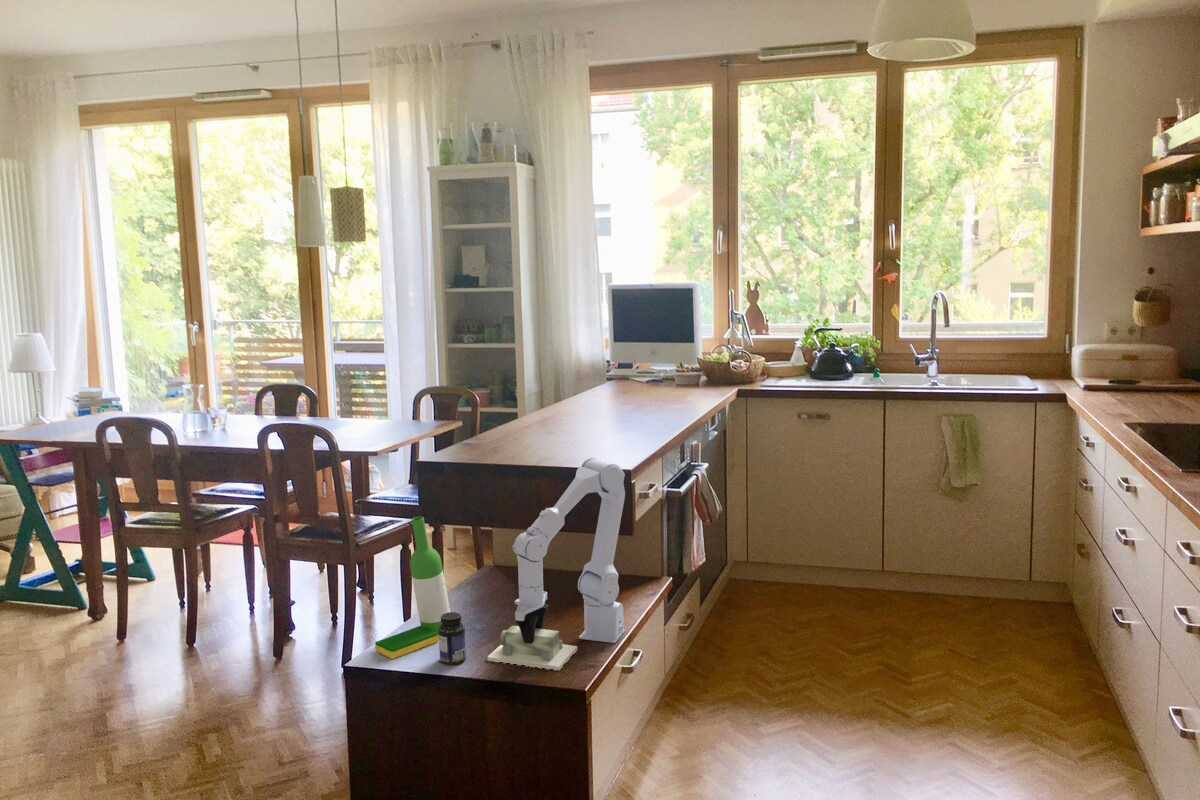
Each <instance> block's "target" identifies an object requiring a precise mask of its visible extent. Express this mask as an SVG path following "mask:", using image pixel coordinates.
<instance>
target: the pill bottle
mask: <svg viewBox="0 0 1200 800" xmlns="http://www.w3.org/2000/svg"><path fill="white" fill-rule="evenodd" d="M441 622H442V625H440V627H439V630H438V631H439V634H438V645H439V646H438V648H439V661H440V662H441V663H442V664H443V665H450V666H451V665H458V664H462V663H463V662H465V661H466V659H467V649H466V627H465V625H464V624H463V623H462V614H461V613H459V612H456V611H455V612H454V611H450V612H448V613H445V614H443V615H442V616H441Z"/></svg>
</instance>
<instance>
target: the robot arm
mask: <svg viewBox="0 0 1200 800" xmlns="http://www.w3.org/2000/svg"><path fill="white" fill-rule="evenodd" d="M625 475H626V473H625V472H624V471H623V470H622V468H621V467H620V466H619V465H618V464H616V463H610V462H606V461H602V460H601V459H598V458H595V457H589V458H586V459H585V460H584V461H583V462H582V464H581V465H580V466H579V467H578V468H577V469H576V473H575V477H574V479H573V480H572V481H571V483H570V484H569V485H568V487H567V488H566V490H565V491H564V492H563V494H562V495H561V496H560V498H559V499H558V501H557V502H556V503H555V504H554V506H553V507H546V508H545V509H544V510H543V509H542V510H541V512H539V516H538V517H537V518H536V519H535V521H534V522H533V523H532V524H531V525H530V527H529V526H528V528H527V529H526V531H524V532H522V533H519V534H518V535H517V536H516V538H515V540H514V543H513V545H512V546H511V547H512V550H513V552H514V554H515V555H516V559H517V570H518V571H517V572H518V576H517V577H518V598H517V599H515V600H514V604H515V605H517V608H516V610H515V612H514V614H513V619H514V621H515V622H516V624H517V626H519V628H520V630H521V634H522V637H523V641H524V643H529V644H532V643H533V641H534V634H535V628H537V629H543V626H544V621H545V619H546V615H547V613H548V611H549V609H550V606H549V604H547V603H546V601H547V600H548V592H547V591H544V573H543V572H544V570H543V569H544V567H543V558H544V557H545V556H546V555H547V553H548V549H549V546H550V544H551V541H552V539H553V538H555V536H556V535H557V534H558V532H559V531H560V530H561V529H562V528H563V527H564V525H565V517H566V515H567V514H568V513H569V512H571V510H572V509H573V508H575V506H576V505H577V504H578V503H579V502H580V501H581V500H582V499H583V498H584V497H585V496H586V495H588V494H590V493H591V494H592V493H598V495H599V496H600V497H601V502H600V507H599V513H598V519H597V525H596V529H595V536H594V541H593V547H592V553H591V558H590V561H588V562H587V563H585V564H584V566H583V570H582V573H581V575H580V576H579V578H578V580H577V589H578V591H579V592H580V593H581V594H582V599H583V608H584V609H583V610H584V612H583V613H584V614H583V618H584V619H583V621H584V623H583V624H584V631H583V632H582V633H580V635H579V636H578V639H579V640H587V641H593V642H594V641H595V642H603V643H610V644H614V643H616V642H618V640H619V639H620V638H621V636H622V635H623V634H624V633H625V629H624V627H625V626H624V622H625V621H624V618H625V617H624V613H625V612H624V606H623V603H621V602H618V601H616V600H617V598H618V596H619V593H620V586H619V582H618V581H619V574H618V572H617V569H616V568H615V566H614V562H615V561H614V560H615V555H616V549H617V543H618V539H619V532H620V525H621V521H622V520H621V519H622V515H623V510H624V504H625V499H626V498H625V497H626V490H625V485H624V480H625Z"/></svg>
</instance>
